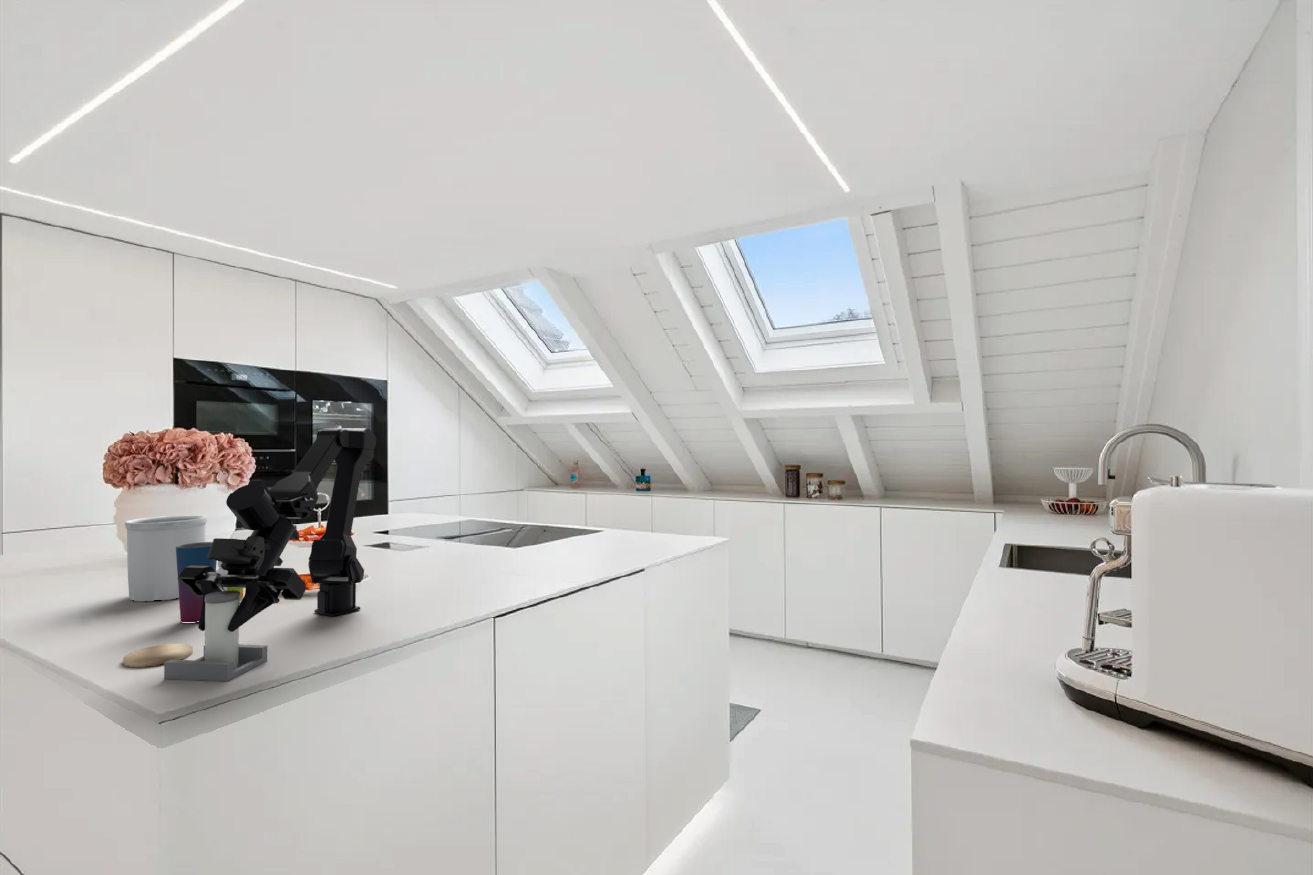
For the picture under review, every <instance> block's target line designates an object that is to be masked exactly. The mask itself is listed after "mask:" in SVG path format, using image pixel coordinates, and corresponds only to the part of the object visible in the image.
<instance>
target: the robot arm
mask: <svg viewBox="0 0 1313 875" xmlns="http://www.w3.org/2000/svg"><path fill="white" fill-rule="evenodd" d="M376 444H377V436H376V435H375V434H374V433H372V430H370V429H369V428H360V427H359V428H353V427H352V428H350V427H347V428H345V427H344V428H343V427H340V428H335V427H334V428H331V427H329V428H328V427H324V428H322V429H319V430H318V431H317V433H316V438H315V439H314V442H313V443H312V444H311V446H310V447H309V449H308V450H307V452H306V453H305V455H304V456H303V457H302V459H301V460H300V462H299V463H298V464H297V466H296V467H295V469H294V471H293V472H292V473H290V475H288V476H285V477H284V478H282V479H280V480H278V481H277V482H276V483H275V484H274V485H273V486H272V487H271V488H270V489H269V488H268V486H267V484H266V482H265V481H264V479H251V480H250V482H248V484H246V485H242V486H241V487H238V488H237V489H235V490H234V491H232V492H230V493H229V494H228V496H227V498H226V500H225V501H226V506H227V507H228V509H229V510H230V511H231V512H232V514H233V515H234V516H235V517H236V519H237V520H238V521H239V523H241V525H242V526H243V528H244V529H246V530H249V531H252V532H251V534H250V536H247V538H246V539H239V538H222V537H221V538H220V537H219V538H213V540H212V541H211V542H212V545H211V548H210V551H209V554H208V557H207V558H208V559H210V560H212V559H214V560H217V562H218V561H220V562H222V564H221V567H222V569H223V570H227V571H228V573H227V575H221V574H219V573H217V572H216V571H215V570H214V569H213V568H212V567H211V566H188V567H185V568H184V569H183V571H182V572H181V574H180V575H179V577H178V578H177V579H178V580H179V581H180V582H181V583H182V584H183V585H184V586H185V587H186V588H188V589H189V590H190V591H191V592H192V593H193V594H194V595H196V596H198V597H203V603H202V609H201V614H200V620H199V623H198V626H197V627H198V628H197V629H198V630H200V631H202V632H205V595H207V594H210V593H214V592H221V591H226V589H227V588H228V587H231V588H243V589H245V591H244V595H243V599H242V601H241V603H239V606H238V608H237V610H236V612H235V614H234V615H233V617H232V619H231V621H230V623H229V626H228V630H229V631H230V632H233V631H235V630H236V629H238V628H239V629H240V627H241V626H243V625H244V624H246V623H248V621H250V620H251V619H252V618H254V617H255V616H257V615H259V613H261V612H263V611H264V610H266V609H268V608H269V607H270V606H272V605H273V604H278V603H280V600H281V599H280V598H279V596H280V595H281V596H282V598H283V599H284V600H288V601H289V600H292V601H301V599H302V598H303V596H304V594H305V592H306V591H307V585H306V581H304V580H303V578H302V577H301V576H300V575H299V574H298V572H297V571H296V570H295V569H294V568H293V567H281V566H282V564H283V562H284V560H283V559H282V558H281V556H282V553H283V552H284V550H285V549H286V547H287V545H288V543H289V541H298V540H300V533H299V532H298V528H297V525H296V524H293V521H292V520H291V519H297V520H298V519H300V520H302V519H307V518H309V517H310V515H312V513H313V511H314V510H315V508H316V505H317V503H318V501H319V495H318V490H317V489H318V487H319V486H320V483H321V482H322V481H323V478H324V477H325V476H326V474H327V473H328V471H329V469H330V468H331V467H332V465H333V463H334V462H335V465H336V468H335V475H334V480H333V486H332V491H331V498H330V504H329V508H328V514H327V519H326V525H325V531H324V533H323V534H322V535H321V537H320V538H319V539H313V542H312V543H311V549H310V550H311V551H310V554H309V557H308V564H307V566H308V569H309V575H310V579H311V584H312V585H315V584H319V588H318V590H319V591H317V596H316V598H317V601H316V602H317V604H316V605H317V607H316V608H315V609H314V611H313V612H314V613H317V614H321V615H325V616H328V617H329V616H330V617H337V616H340V615H344V614H347V613H352V612H356V611H359V610H361V606H358V605H357V604H356V601H357V597H356V596H357V595H356V594H357V584H360V583H362V581H363V579H364V576H365V575H364V574H365V568H364V566H362V564H361V563H360V561H359V559H358V557H357V552H358V551H357V550H358V549H357V545H356V544H355V541H354V539H353V538H352V529H353V524H354V518H355V511H356V506H357V505H356V504H357V499H358V493H359V488H360V482H361V475H362V470H363V469H364V468H365V467H366V466H367V464H369V462H370V461H371V460H372V457H373V454H374V451H375V450H374V449H375V448H376Z"/></svg>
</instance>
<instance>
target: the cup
mask: <svg viewBox="0 0 1313 875" xmlns="http://www.w3.org/2000/svg"><path fill="white" fill-rule="evenodd" d="M212 542H213V541H205V542H196V543H187V544H181V545H177V546H176V558H177V573H178V577H179V575H180V574H181V572H182V571H183V569H184V568H185V567H188V566H211V567H212V568H213V569H214V570H215V571H216V570H217V565H218V561H217V560H214V559H212V560H210V559H208V558H207V557H208V554H209V551H210V548H211V545H212ZM178 588H179V598H178V601H179V616H180V617H179V618H180V622H181V621H182V622H197V621H199V620H200V614H201V609H202V603H203V597H198V596H196V595H194V594H193V593H192V592H191V591H190V590H189V589H188V588H186V587H185V586H184V585H183V584H182V583H181V582H180V581H179V580H178Z"/></svg>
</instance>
